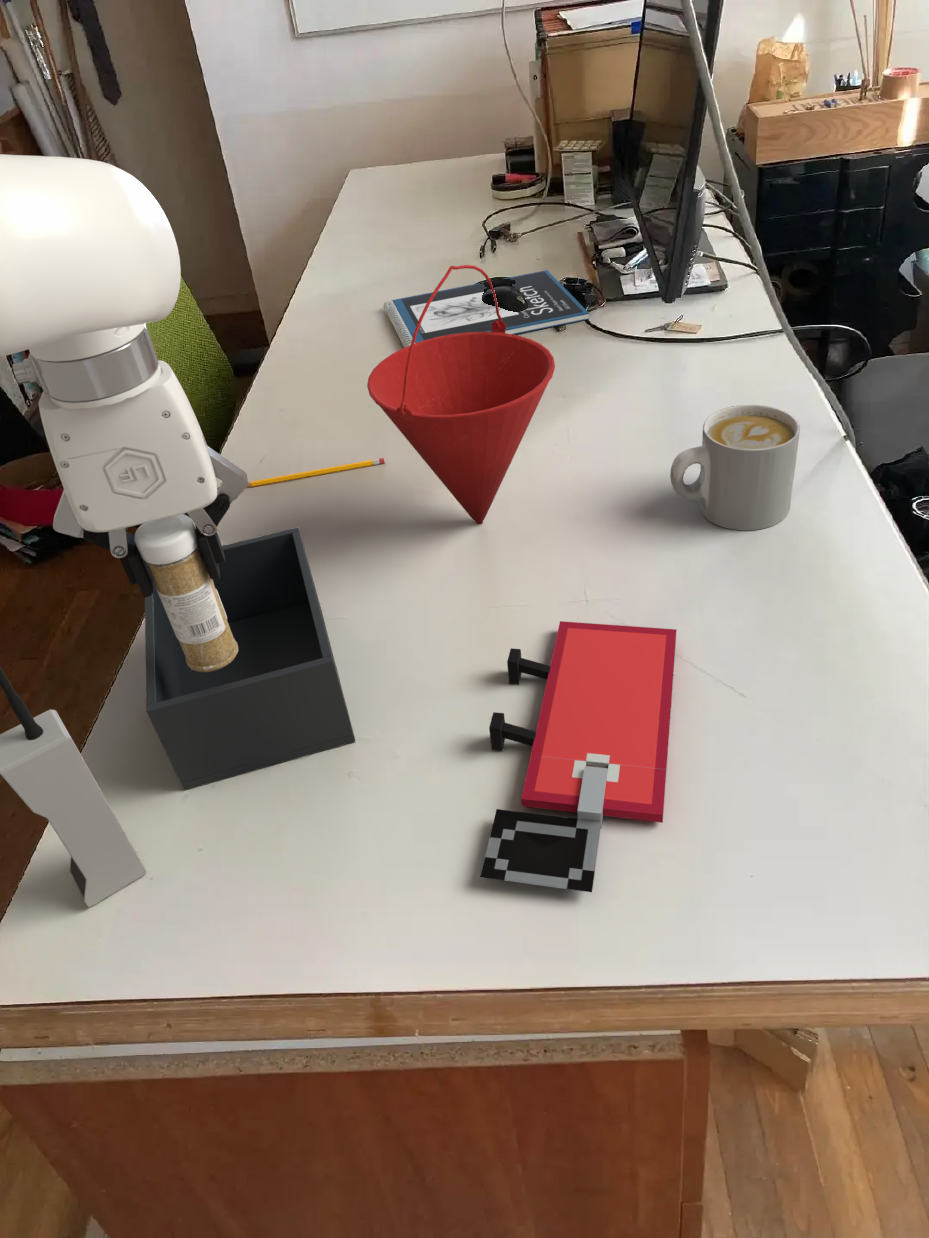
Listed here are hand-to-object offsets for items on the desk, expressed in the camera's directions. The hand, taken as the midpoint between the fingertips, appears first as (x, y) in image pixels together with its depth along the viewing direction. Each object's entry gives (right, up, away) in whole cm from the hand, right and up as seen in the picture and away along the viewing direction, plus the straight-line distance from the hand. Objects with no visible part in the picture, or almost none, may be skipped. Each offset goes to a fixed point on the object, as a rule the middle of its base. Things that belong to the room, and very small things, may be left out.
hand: (181, 576), depth 74 cm
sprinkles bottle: (+1, -7, +6) cm, 9 cm away
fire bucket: (+24, +8, +35) cm, 43 cm away
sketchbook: (+26, +48, +82) cm, 98 cm away
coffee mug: (+53, +9, +32) cm, 62 cm away
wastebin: (+2, -10, +17) cm, 20 cm away
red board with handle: (+33, -15, +7) cm, 36 cm away
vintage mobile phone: (-6, -25, +2) cm, 25 cm away
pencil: (+3, +15, +48) cm, 50 cm away
